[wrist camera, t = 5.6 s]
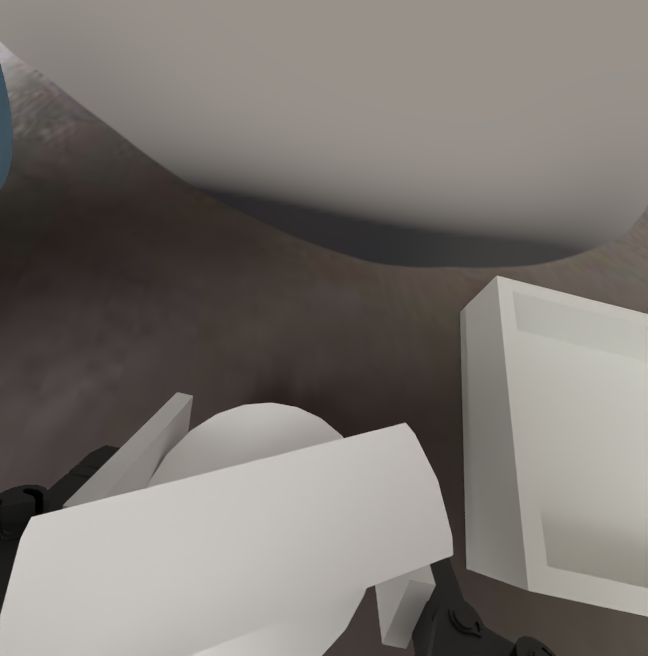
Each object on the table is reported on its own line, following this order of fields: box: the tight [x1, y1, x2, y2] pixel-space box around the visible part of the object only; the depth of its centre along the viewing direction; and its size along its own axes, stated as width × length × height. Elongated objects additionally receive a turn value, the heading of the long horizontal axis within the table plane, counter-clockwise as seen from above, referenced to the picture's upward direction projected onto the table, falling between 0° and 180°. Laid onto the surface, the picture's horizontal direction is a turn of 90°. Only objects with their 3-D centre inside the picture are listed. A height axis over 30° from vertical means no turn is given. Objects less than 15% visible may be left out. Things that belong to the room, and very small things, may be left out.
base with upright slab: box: [0, 403, 453, 656], centre depth 12 cm, size 9×9×12 cm
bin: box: [460, 276, 648, 616], centre depth 20 cm, size 17×17×5 cm
